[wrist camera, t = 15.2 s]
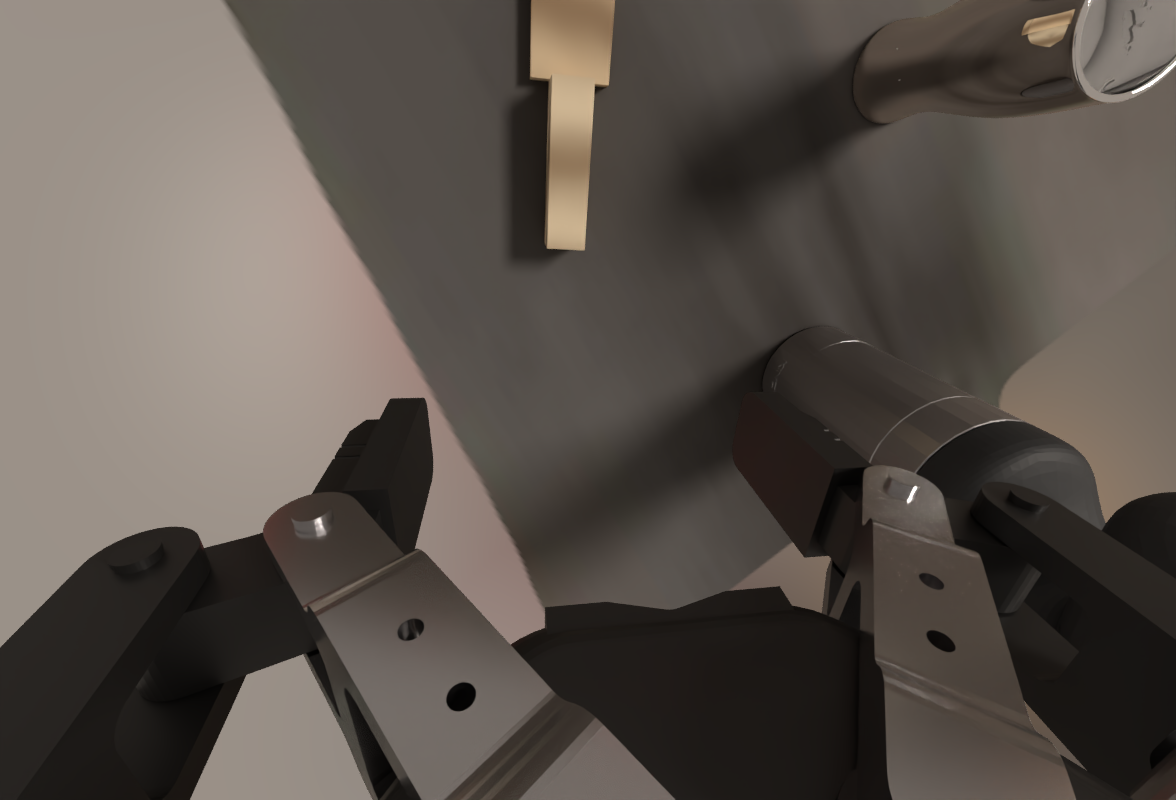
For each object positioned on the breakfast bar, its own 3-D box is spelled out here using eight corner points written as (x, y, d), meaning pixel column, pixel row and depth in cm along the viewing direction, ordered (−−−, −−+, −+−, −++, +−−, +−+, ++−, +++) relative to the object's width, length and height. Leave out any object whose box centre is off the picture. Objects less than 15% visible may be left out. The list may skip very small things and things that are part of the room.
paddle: (594, 244, 35) (601, 251, 33) (528, 241, 34) (529, 247, 32) (614, -30, 28) (624, -51, 26) (531, -43, 27) (533, -65, 25)
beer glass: (932, -11, 31) (1247, -143, 18) (944, 99, 34) (1218, 57, 21) (836, 46, 32) (1070, -40, 18) (856, 149, 35) (1068, 139, 22)
